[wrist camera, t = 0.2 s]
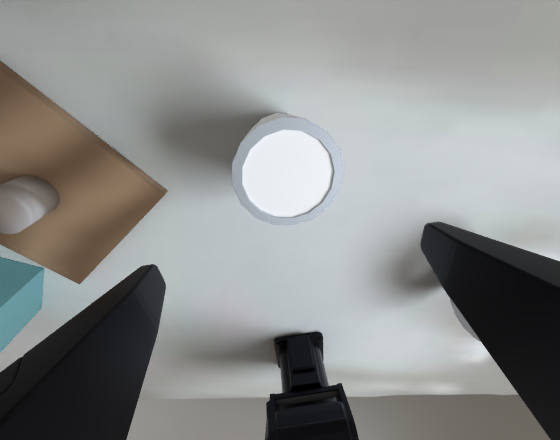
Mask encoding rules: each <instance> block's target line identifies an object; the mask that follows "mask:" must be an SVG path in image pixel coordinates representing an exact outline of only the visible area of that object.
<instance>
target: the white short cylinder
mask: <svg viewBox="0 0 560 440" xmlns="http://www.w3.org/2000/svg"><path fill="white" fill-rule="evenodd" d="M343 173H344V165H343V160H342V155H341V150H340V147H339V146H338V145H337V143H336V142H335V141H334V139H333V138H332V136H331V135H330V134H329V132H328V131H327V130H326V129H324V128H322V127H320V126H318V125H317V124H315V123H313V122H311V121H309V120H307V119H305V118H301V117H297V116H294V115H290V114H279V113H275V114H272V115H269V116H266V117H264V118H262V119H261V120H260V121H258V122H257V123H256V124H255V125H254V126H253V127H252V128H251V130H250V131H249V132H248V134H247V135H246V136H245V138H244V139H243V140H242V142H241V143H240V146H239V148H238V150H237V153H236V155H235V158H234V160H233V162H232V186H233V188H234V190H235V192H236V195H237V197H238V199H239V201H240V203H241V205H242V206H243V207H245V208H246V209H247V210H248V211H249V212H250V213H251V214H252V215H253V216H254V217H255V218H258V219H260V220H263V221H265V222H268V223H271V224H273V225H296V224H299V223H302V222H305V221H308V220H312V219H314V218H315V217H316V216H318V215H319V214H320V213H322V212H323V211H324V210H326V209H327V208H328V207H329V206H330V204H331V203H332V201H333V200H334V198H335V197H336V195H337V194H338V192H339V191H340V188H341V183H342V178H343Z"/></svg>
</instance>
